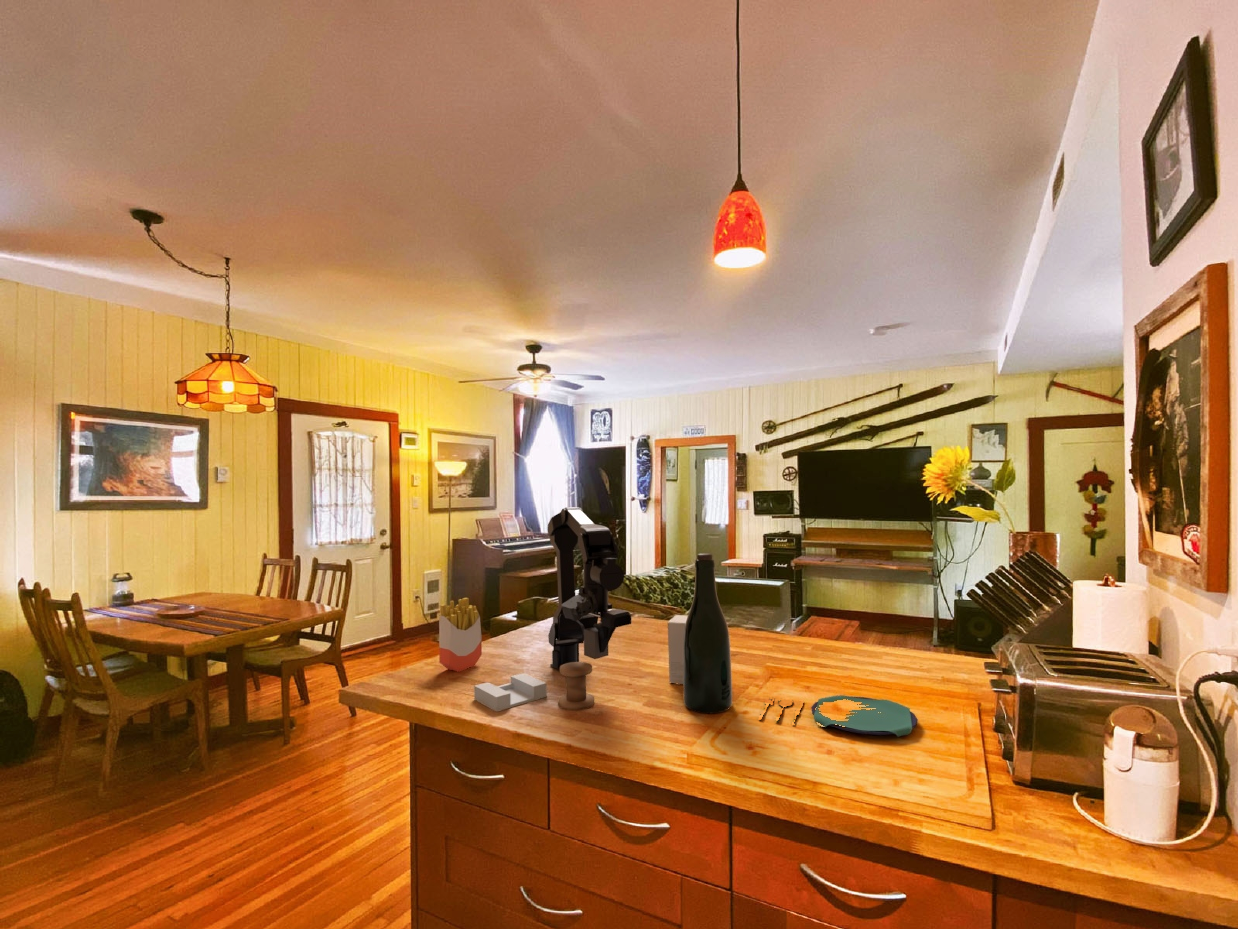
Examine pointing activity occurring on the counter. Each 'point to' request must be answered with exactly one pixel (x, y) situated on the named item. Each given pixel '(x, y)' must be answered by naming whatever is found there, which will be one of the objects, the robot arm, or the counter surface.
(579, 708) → the bobbin
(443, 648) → the french fries container
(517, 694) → the notched board
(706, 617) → the wine bottle
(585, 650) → the block
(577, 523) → the robot arm
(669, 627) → the supplement box
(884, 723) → the teal oval plate
